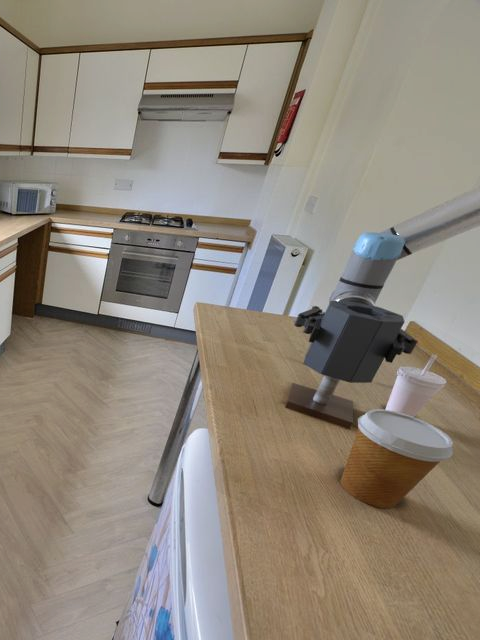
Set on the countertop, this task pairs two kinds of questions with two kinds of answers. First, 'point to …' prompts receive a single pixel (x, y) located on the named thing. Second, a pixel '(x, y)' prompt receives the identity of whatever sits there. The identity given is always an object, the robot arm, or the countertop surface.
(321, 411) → the towel holder
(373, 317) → the grey hollow prism
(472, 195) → the robot arm
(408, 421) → the disposable coffee cup
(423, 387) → the smoothie
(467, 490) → the countertop surface
